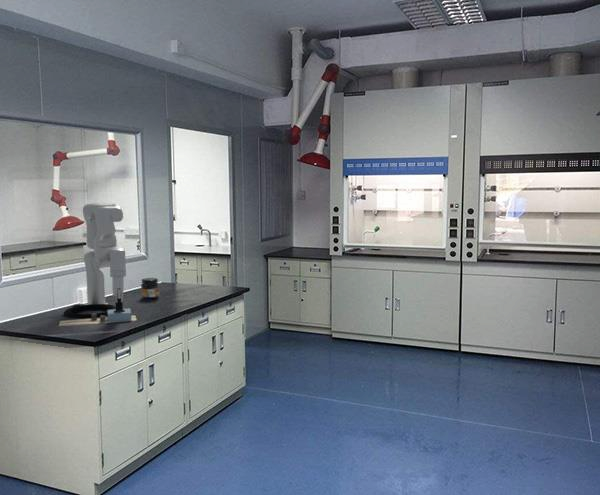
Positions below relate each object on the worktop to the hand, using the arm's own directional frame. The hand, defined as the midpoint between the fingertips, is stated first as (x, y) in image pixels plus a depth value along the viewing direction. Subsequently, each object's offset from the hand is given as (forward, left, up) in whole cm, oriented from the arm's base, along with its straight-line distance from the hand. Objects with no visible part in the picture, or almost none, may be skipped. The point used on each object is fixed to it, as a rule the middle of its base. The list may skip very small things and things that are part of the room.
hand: (119, 308), depth 279 cm
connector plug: (0, 0, -2) cm, 2 cm away
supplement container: (-56, +20, -7) cm, 60 cm away
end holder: (0, 0, -5) cm, 5 cm away
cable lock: (-22, -14, -7) cm, 27 cm away
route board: (0, -10, -6) cm, 12 cm away
